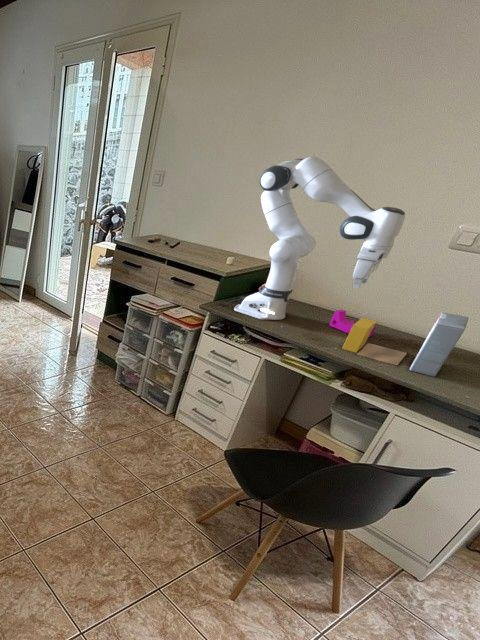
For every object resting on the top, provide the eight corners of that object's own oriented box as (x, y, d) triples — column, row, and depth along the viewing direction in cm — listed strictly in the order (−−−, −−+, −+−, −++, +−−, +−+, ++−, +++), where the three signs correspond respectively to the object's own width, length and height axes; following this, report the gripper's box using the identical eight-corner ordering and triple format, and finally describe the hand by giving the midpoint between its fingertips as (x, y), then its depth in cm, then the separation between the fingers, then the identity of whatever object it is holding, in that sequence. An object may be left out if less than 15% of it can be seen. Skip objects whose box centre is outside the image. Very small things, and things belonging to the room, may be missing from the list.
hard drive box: (414, 357, 172) (441, 311, 162) (440, 363, 167) (470, 317, 157) (408, 370, 163) (436, 322, 153) (435, 377, 158) (466, 329, 148)
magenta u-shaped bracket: (371, 336, 190) (379, 321, 186) (360, 338, 188) (367, 322, 185) (339, 323, 202) (346, 309, 198) (328, 325, 201) (335, 310, 197)
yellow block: (341, 348, 180) (353, 325, 175) (350, 340, 186) (361, 317, 181) (356, 352, 177) (368, 328, 171) (364, 344, 183) (376, 321, 177)
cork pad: (356, 354, 175) (356, 354, 175) (367, 343, 184) (367, 342, 184) (397, 365, 167) (397, 365, 166) (406, 353, 175) (407, 353, 175)
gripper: (372, 245, 175) (357, 278, 182) (357, 254, 164) (342, 289, 171) (391, 248, 170) (376, 281, 177) (377, 257, 160) (361, 292, 167)
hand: (359, 285), depth 174 cm, fingers open, 8 cm apart
